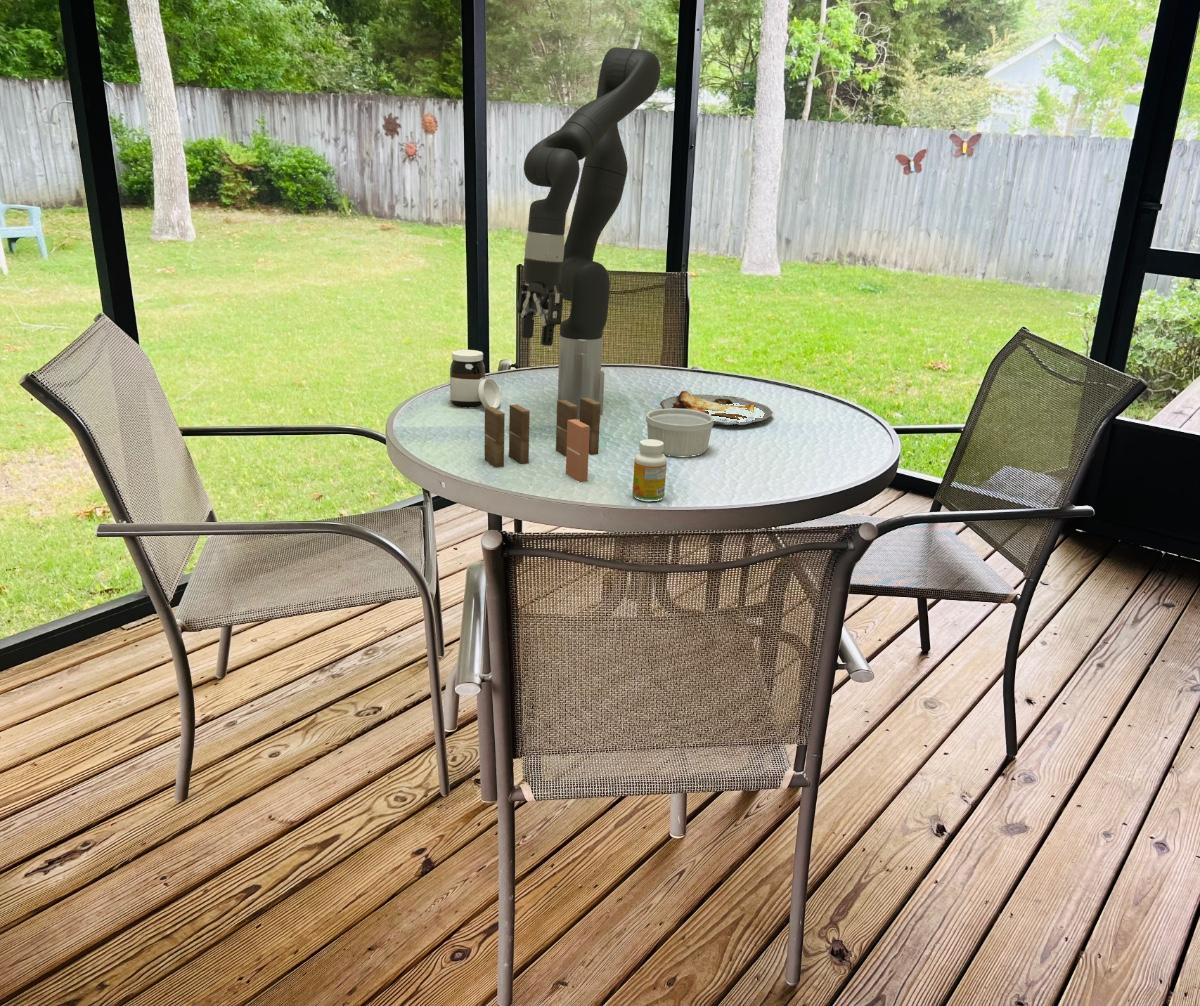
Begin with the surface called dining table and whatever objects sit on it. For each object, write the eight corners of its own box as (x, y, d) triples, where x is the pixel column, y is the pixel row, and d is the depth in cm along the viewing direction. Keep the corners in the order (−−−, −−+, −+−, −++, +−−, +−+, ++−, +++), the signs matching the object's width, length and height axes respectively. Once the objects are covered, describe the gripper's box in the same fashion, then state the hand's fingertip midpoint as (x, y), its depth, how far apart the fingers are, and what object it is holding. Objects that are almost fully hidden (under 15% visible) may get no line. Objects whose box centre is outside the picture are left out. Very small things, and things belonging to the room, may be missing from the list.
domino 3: (563, 449, 184) (564, 399, 181) (575, 457, 180) (577, 405, 177) (555, 450, 183) (557, 400, 180) (568, 458, 179) (570, 406, 176)
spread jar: (452, 398, 218) (452, 347, 214) (502, 399, 219) (502, 349, 215) (447, 411, 207) (446, 358, 203) (499, 413, 208) (499, 360, 204)
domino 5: (585, 447, 187) (587, 397, 183) (598, 454, 183) (600, 403, 179) (578, 448, 186) (580, 398, 182) (590, 455, 182) (593, 404, 178)
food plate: (646, 418, 209) (647, 403, 208) (677, 397, 229) (679, 383, 228) (757, 438, 201) (759, 422, 199) (779, 415, 221) (782, 400, 220)
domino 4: (573, 472, 171) (575, 419, 168) (587, 481, 167) (589, 426, 164) (565, 473, 170) (567, 420, 167) (579, 482, 166) (581, 427, 163)
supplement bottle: (630, 491, 163) (633, 437, 160) (661, 492, 163) (665, 438, 160) (634, 502, 158) (637, 446, 155) (666, 503, 158) (670, 447, 155)
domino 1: (492, 459, 177) (492, 406, 173) (504, 466, 173) (504, 413, 169) (484, 460, 176) (484, 407, 172) (495, 467, 172) (496, 414, 168)
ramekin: (633, 443, 191) (635, 409, 189) (690, 438, 196) (693, 405, 194) (662, 462, 180) (665, 427, 177) (723, 457, 185) (726, 422, 182)
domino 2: (516, 455, 179) (517, 404, 176) (528, 463, 175) (529, 410, 172) (508, 456, 178) (509, 405, 175) (520, 464, 174) (521, 411, 171)
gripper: (578, 263, 179) (570, 348, 184) (544, 254, 190) (537, 335, 195) (543, 260, 175) (535, 348, 180) (510, 252, 187) (504, 334, 192)
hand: (536, 341), depth 188 cm, fingers open, 8 cm apart
